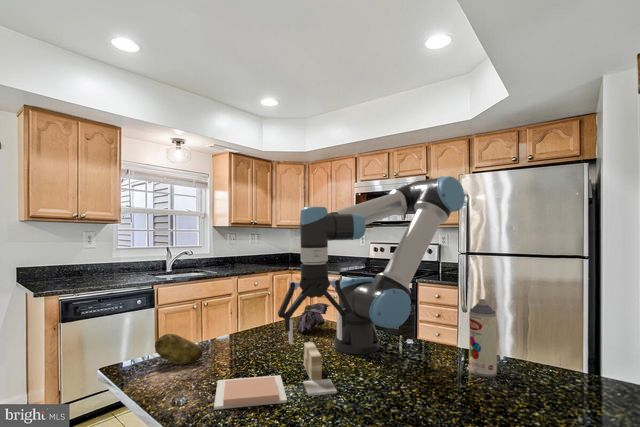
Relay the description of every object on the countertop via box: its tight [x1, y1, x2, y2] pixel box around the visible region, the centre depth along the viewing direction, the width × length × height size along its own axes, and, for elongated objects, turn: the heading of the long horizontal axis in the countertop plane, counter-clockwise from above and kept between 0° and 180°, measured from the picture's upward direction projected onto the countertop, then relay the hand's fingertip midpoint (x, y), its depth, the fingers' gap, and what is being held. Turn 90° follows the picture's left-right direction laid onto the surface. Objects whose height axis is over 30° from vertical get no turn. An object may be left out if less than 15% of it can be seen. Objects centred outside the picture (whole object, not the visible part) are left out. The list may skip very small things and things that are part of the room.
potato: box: [154, 333, 203, 365], centre depth 106 cm, size 8×13×8 cm, turn 75°
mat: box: [213, 374, 288, 411], centre depth 87 cm, size 16×14×1 cm
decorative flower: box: [296, 302, 331, 334], centre depth 140 cm, size 14×12×15 cm
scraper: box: [303, 341, 338, 397], centre depth 95 cm, size 19×7×6 cm, turn 12°
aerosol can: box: [468, 298, 498, 378], centre depth 100 cm, size 7×7×20 cm
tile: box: [223, 377, 279, 407], centre depth 84 cm, size 12×2×10 cm
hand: (315, 340), depth 98 cm, fingers open, 13 cm apart
